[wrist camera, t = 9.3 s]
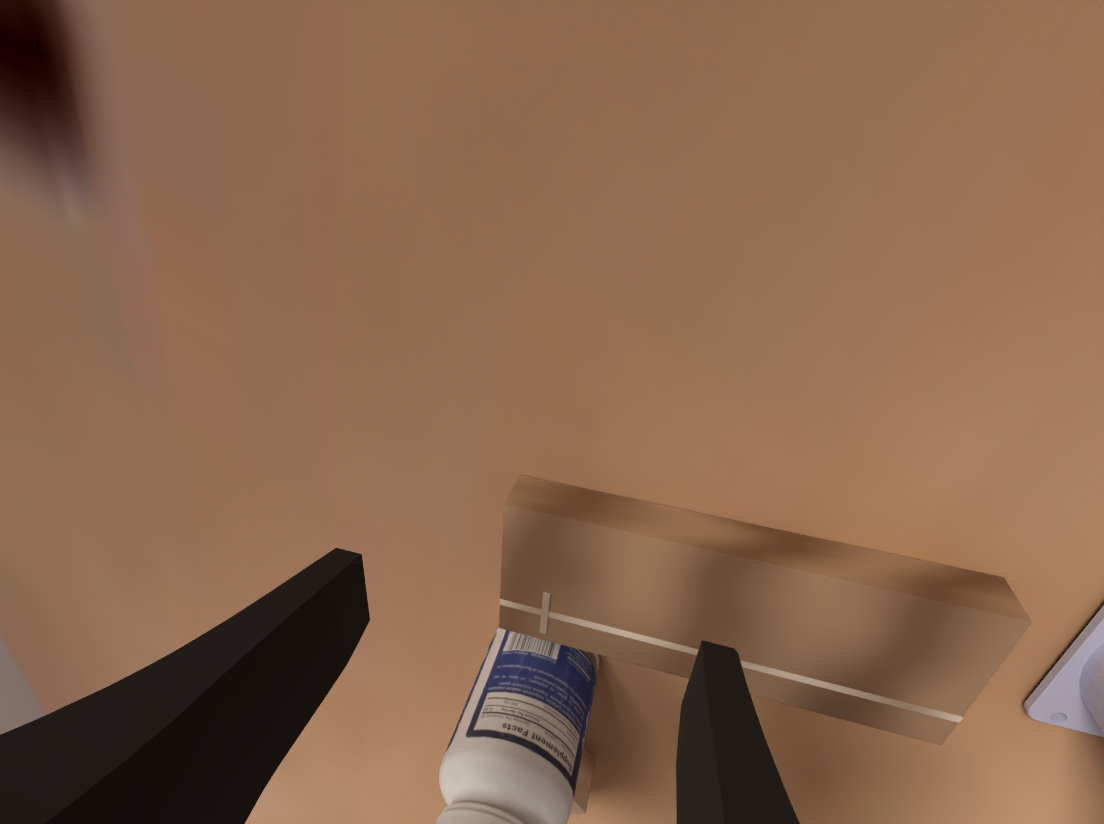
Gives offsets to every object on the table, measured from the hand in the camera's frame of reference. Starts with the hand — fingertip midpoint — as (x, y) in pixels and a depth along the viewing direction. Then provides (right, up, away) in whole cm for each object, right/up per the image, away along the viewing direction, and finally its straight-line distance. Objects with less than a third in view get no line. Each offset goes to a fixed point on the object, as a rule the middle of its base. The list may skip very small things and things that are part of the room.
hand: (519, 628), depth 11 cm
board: (+8, -3, +12) cm, 14 cm away
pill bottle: (+1, -7, +16) cm, 18 cm away
